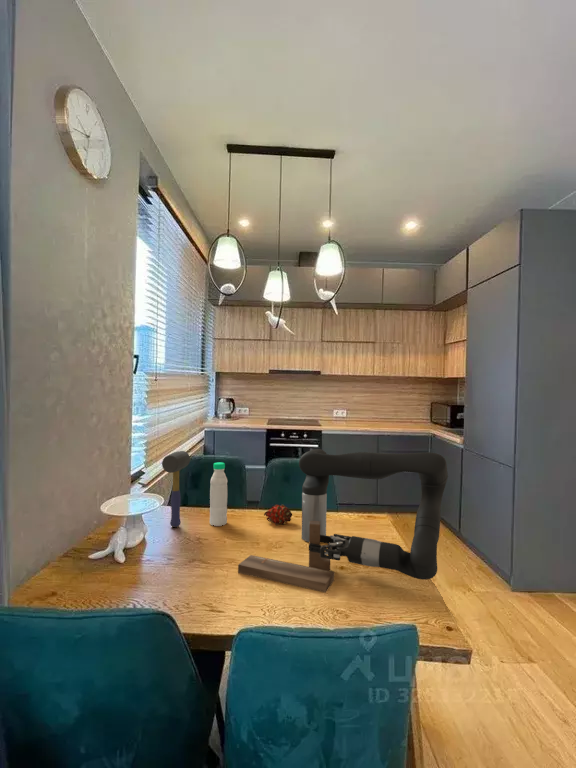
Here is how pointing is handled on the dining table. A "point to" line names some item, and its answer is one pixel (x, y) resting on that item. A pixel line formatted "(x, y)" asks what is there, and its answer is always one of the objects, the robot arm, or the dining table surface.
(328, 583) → the walnut plank
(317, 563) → the wooden block
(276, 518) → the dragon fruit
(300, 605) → the dining table surface
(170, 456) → the rubber mallet
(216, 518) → the water bottle
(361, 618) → the dining table surface
